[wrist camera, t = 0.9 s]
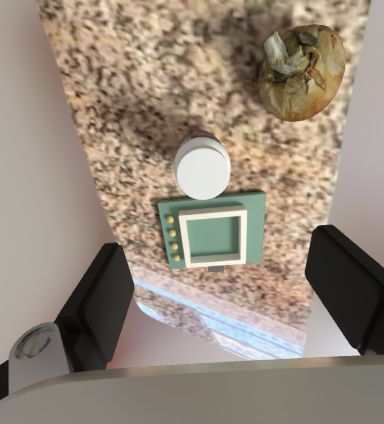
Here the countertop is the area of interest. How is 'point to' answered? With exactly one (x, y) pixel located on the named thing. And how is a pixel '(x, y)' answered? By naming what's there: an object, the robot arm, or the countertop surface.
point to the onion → (301, 71)
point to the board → (213, 230)
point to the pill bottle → (202, 166)
